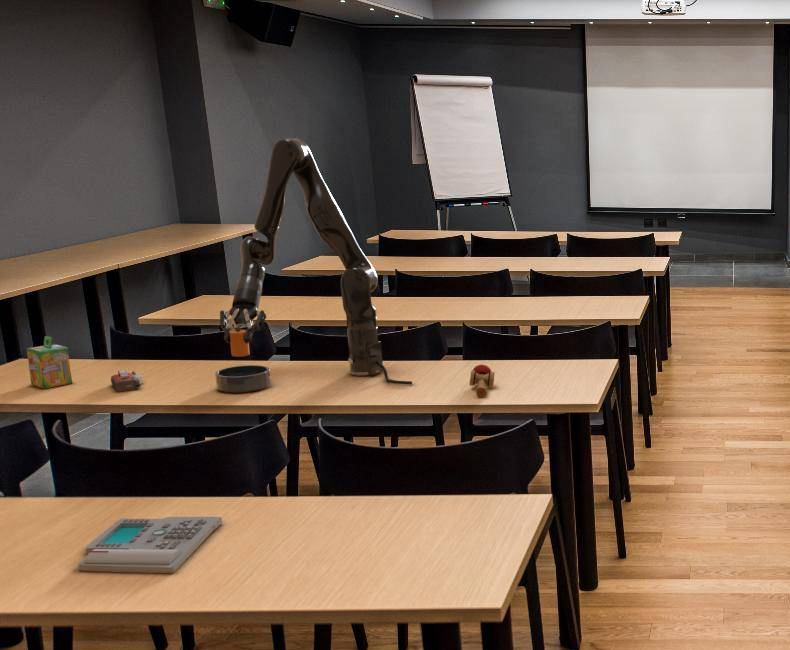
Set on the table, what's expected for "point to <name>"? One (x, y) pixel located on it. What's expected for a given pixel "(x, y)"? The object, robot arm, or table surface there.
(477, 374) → the kendama
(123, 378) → the grey and red device
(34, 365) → the chalk box
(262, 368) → the bowl
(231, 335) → the squash
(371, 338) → the robot arm
